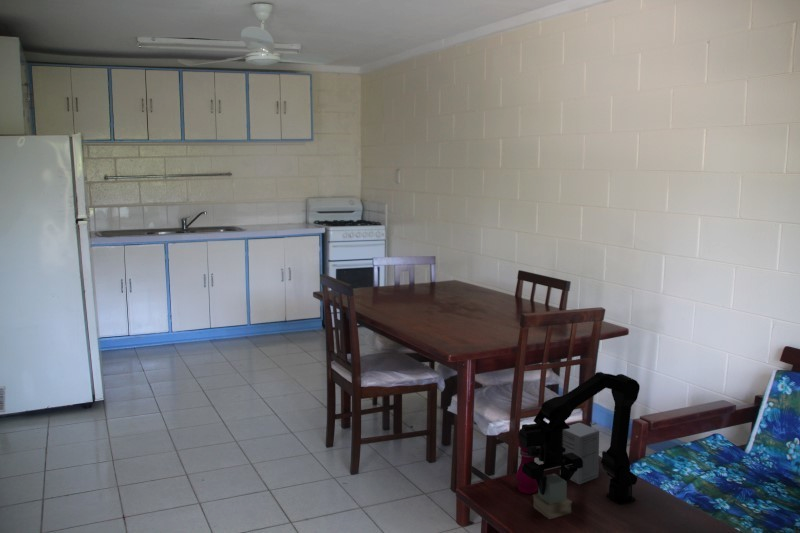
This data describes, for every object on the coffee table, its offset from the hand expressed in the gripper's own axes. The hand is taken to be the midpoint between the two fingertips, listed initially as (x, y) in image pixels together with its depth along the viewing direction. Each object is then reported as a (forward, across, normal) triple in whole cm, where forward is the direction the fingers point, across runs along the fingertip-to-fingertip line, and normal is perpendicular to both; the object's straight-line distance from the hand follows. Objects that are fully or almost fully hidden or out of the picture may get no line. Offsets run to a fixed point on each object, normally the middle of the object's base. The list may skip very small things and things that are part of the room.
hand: (552, 491), depth 204 cm
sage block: (+2, 0, 0) cm, 2 cm away
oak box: (+6, 0, 0) cm, 6 cm away
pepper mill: (+6, -1, -14) cm, 16 cm away
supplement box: (+6, -22, -15) cm, 27 cm away
